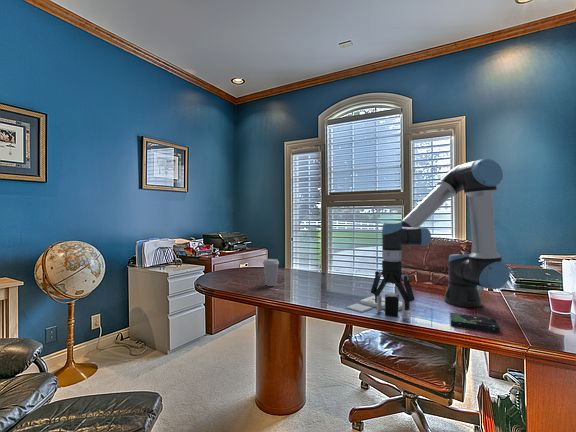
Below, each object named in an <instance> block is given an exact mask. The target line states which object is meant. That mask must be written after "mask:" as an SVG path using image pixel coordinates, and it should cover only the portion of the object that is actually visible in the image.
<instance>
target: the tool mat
mask: <svg viewBox="0 0 576 432" xmlns="http://www.w3.org/2000/svg"><path fill="white" fill-rule="evenodd" d="M345 309H347V310H352V311H355V312H359V313H364V312H367V311H370V310H373V306H369V305H365V304H361V303H354V304H351V305H348V306H346V308H345Z"/></svg>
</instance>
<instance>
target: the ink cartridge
mask: <svg viewBox="0 0 576 432" xmlns="http://www.w3.org/2000/svg"><path fill="white" fill-rule="evenodd" d="M384 298H385V309H384V315H385V316H386V317H397V318H398V317H399V311H398V301H400V299H398V296H392V295H385V294H384Z"/></svg>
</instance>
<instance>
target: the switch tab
mask: <svg viewBox="0 0 576 432" xmlns="http://www.w3.org/2000/svg"><path fill="white" fill-rule="evenodd" d="M385 295H392V296H398V299H399V298H400V293H394V292H388V293H385V294H384V296H385ZM399 301H400V299H399ZM399 301H398V303H399Z"/></svg>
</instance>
